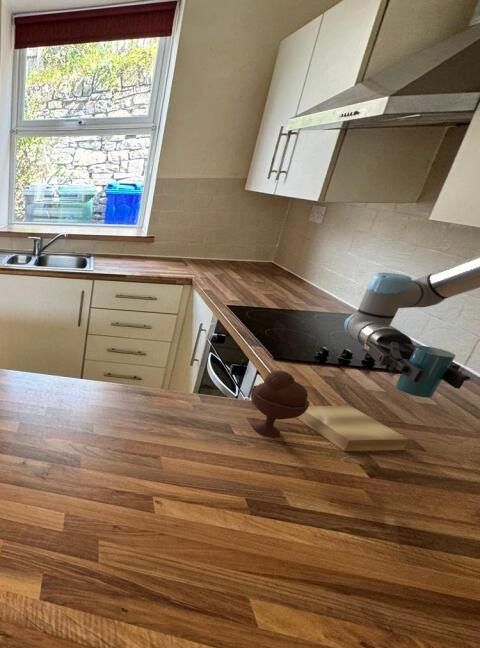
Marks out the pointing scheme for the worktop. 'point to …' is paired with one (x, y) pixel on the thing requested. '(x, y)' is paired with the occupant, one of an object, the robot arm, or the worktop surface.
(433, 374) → the canister
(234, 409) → the worktop surface
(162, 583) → the worktop surface
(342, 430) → the platform
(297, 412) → the ice cream bowl
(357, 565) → the worktop surface
